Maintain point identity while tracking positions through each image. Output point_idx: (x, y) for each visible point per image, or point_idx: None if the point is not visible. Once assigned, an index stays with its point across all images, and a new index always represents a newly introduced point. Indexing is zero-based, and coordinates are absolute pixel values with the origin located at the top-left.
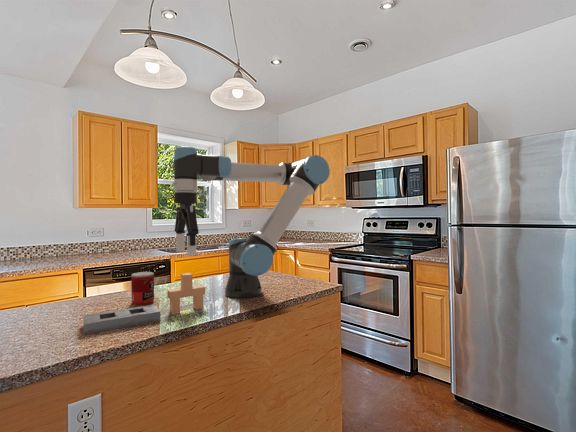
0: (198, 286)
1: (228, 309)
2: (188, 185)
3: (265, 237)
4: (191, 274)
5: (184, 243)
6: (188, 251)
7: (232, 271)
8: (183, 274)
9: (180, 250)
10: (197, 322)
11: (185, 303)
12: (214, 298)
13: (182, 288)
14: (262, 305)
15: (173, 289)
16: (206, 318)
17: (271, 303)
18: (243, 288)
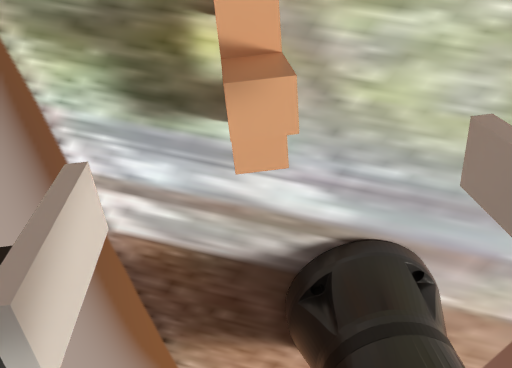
0: (268, 147)
1: (170, 205)
2: None
3: None
4: (231, 136)
5: (506, 230)
6: (52, 191)
7: (377, 341)
8: (259, 88)
9: (472, 154)
10: (42, 62)
11: (357, 65)
12: (359, 193)
13: (245, 57)
14: (165, 311)
15: (267, 4)
16: (84, 106)
17: (175, 339)
18: (302, 313)
